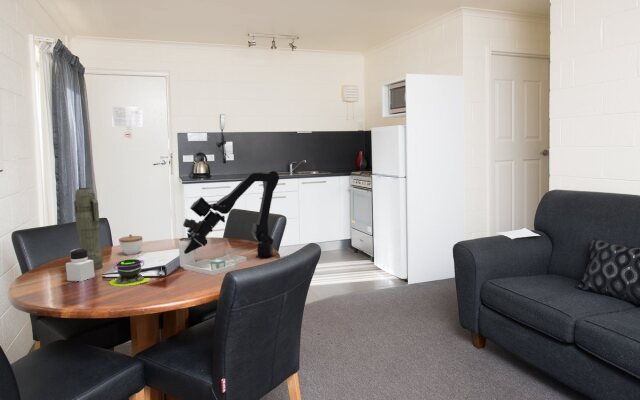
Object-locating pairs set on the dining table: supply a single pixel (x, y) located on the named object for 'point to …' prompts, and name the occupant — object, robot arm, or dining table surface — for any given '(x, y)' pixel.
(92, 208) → the thermos
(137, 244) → the lidded jar
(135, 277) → the toy cauldron
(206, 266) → the long tray
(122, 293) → the dining table surface
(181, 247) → the can
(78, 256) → the medicine bottle
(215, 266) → the letter cube
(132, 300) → the dining table surface
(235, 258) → the small tray
